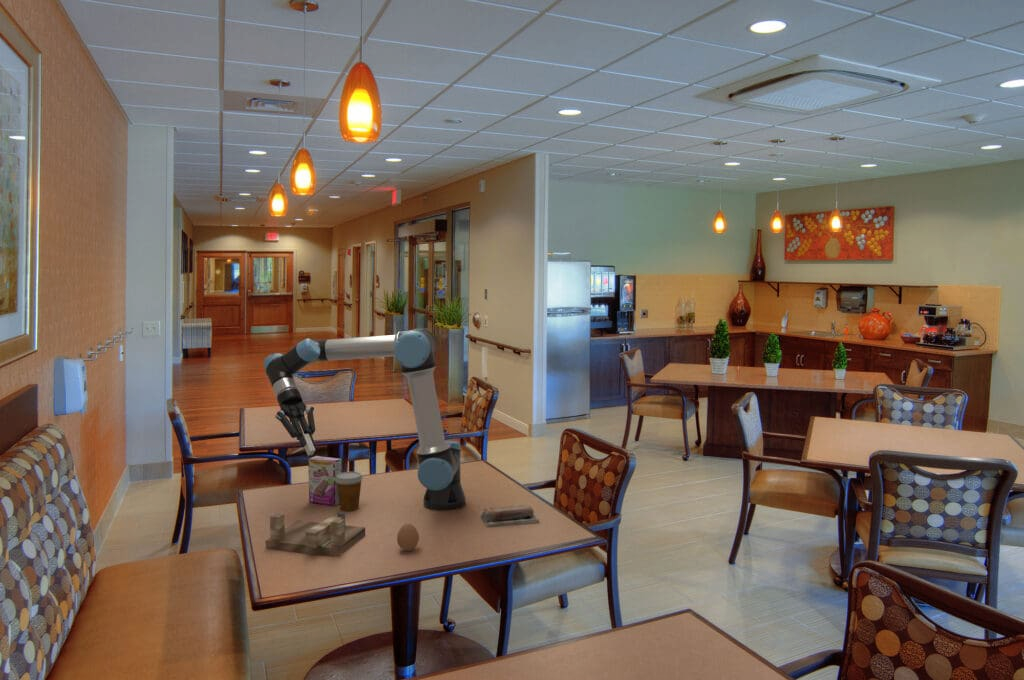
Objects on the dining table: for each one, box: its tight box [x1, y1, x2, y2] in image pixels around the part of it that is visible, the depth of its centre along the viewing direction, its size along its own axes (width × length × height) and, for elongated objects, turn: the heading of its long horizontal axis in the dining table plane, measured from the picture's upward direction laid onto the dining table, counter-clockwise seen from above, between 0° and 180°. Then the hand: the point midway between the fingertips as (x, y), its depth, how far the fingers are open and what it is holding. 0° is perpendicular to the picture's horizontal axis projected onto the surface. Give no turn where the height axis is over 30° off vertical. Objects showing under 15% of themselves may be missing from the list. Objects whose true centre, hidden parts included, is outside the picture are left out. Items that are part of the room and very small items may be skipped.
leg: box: [305, 515, 342, 548], centre depth 215 cm, size 14×4×4 cm, turn 161°
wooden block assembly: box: [265, 511, 366, 557], centre depth 220 cm, size 24×18×10 cm
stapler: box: [480, 504, 540, 528], centre depth 240 cm, size 18×5×10 cm
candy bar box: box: [307, 455, 343, 507], centre depth 256 cm, size 11×5×16 cm, turn 71°
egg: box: [396, 523, 420, 552], centre depth 213 cm, size 6×6×8 cm
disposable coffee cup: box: [335, 471, 364, 512], centre depth 251 cm, size 10×10×12 cm
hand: (311, 452), depth 227 cm, fingers closed
